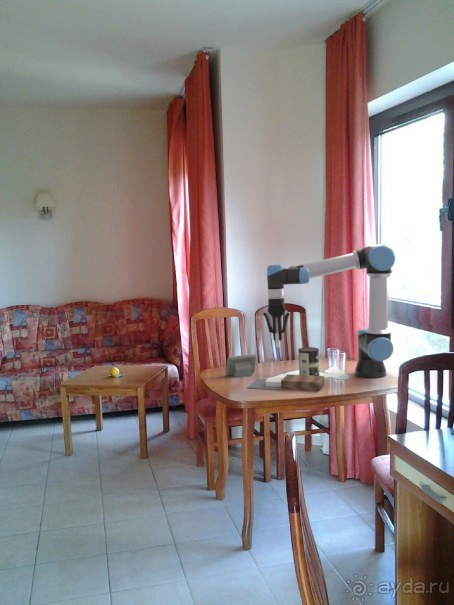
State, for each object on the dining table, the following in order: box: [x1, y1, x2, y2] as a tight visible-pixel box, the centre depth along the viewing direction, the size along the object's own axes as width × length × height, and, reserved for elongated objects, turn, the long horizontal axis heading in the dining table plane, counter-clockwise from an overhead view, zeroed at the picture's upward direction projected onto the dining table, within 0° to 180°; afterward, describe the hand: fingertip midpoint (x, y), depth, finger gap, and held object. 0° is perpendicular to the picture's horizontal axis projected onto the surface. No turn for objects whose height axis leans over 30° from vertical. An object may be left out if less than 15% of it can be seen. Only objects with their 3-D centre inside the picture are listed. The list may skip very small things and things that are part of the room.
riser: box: [281, 373, 325, 392], centre depth 248 cm, size 18×12×4 cm, turn 70°
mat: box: [246, 378, 282, 391], centre depth 254 cm, size 16×16×1 cm
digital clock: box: [225, 353, 257, 378], centre depth 275 cm, size 16×9×11 cm, turn 96°
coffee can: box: [297, 346, 320, 376], centre depth 265 cm, size 10×10×14 cm
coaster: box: [266, 377, 284, 387], centre depth 253 cm, size 8×8×2 cm
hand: (278, 347), depth 251 cm, fingers closed
